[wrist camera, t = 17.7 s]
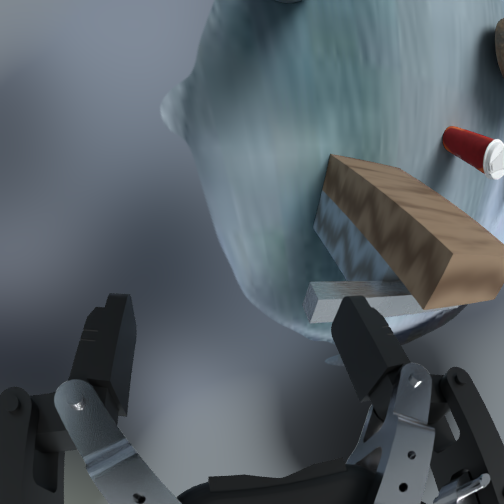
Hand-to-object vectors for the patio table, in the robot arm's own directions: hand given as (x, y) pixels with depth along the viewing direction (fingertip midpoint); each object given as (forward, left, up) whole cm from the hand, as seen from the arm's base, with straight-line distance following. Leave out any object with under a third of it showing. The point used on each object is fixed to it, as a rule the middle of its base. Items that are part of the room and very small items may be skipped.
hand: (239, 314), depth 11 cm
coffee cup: (-8, +50, -40) cm, 65 cm away
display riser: (+10, +29, -40) cm, 50 cm away
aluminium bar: (+13, +24, -16) cm, 32 cm away
